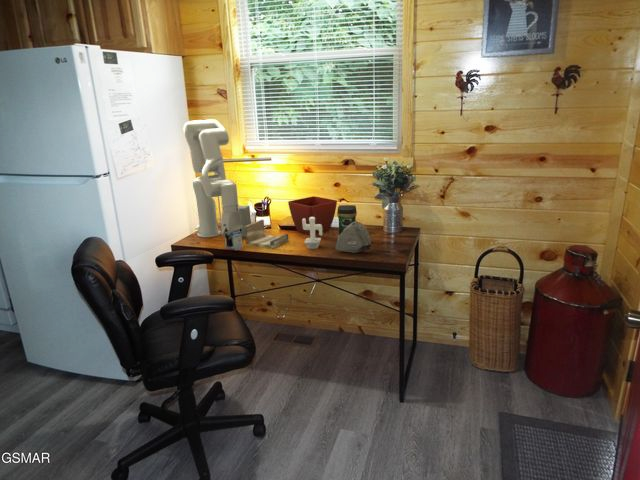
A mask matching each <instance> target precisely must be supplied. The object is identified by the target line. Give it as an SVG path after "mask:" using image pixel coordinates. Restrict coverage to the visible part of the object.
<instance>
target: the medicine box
mask: <svg viewBox="0 0 640 480" xmlns="http://www.w3.org/2000/svg"><path fill="white" fill-rule="evenodd" d="M228 236H229V234H228ZM242 238H243V237H241V232H239V231H235V232H232V233H231V239H232V245H233V246H232V247H229V246H227V243H226V238H225V237H224V239H225V242H224V243H225V248H226V249H229V250H233V251H238V250H242V249H243V240H242Z"/></svg>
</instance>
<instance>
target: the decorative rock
mask: <svg viewBox="0 0 640 480" xmlns="http://www.w3.org/2000/svg"><path fill="white" fill-rule="evenodd" d="M371 239H372V238H371V236H370V232H369V231H368V230H367V226H365V225H364V224H363V223H361V222H360V221H357V220H356V221H355V222H352V223H351V224H350V225H349V226H347V227H346V228H345V229H344V230H343V232H342V233H341V234H340V235H339V237H338V236H337V240H336V244H335V250H337V251H339V252H346V253H351V254H358V253H361V252H362V251H369V250H370V249H371V246H372V242H371Z"/></svg>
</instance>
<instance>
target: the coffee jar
mask: <svg viewBox="0 0 640 480" xmlns="http://www.w3.org/2000/svg"><path fill="white" fill-rule="evenodd" d="M357 214H358V211H357V206H356V205H355V204H344V205H343V204H339V205H338V206H337V210H336V215H337V218H338V232H337V238H338V237H339V235H340V234H341V233H342V232H343V230H344V229H345V228H346V227H347V226H349V225H350V224H351V223H352V222H355V221H357V220H356V217H357Z"/></svg>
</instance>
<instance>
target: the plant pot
mask: <svg viewBox="0 0 640 480" xmlns="http://www.w3.org/2000/svg"><path fill="white" fill-rule="evenodd" d="M287 203H288V209H289V212H290V215H291V219H292V221H293V224H294V226H295V228H296V231H297V232H298V233H302V234H306V235H309V236H310V230H304V229H303V224H302V219H303V218H305V219H306V224H310V221H309V218H310V217H315V224H321V225H322V232H323V233H327V232H330V230H331V227H332V224H333V221H334V217H335V215H336V211H337V205H338V204H337V203H338V200H336V199H331V198H327V197H320V196H315V195H313V196H308V197H307V196H306V197H304V198H299V199H294V200H289V201H287ZM316 235H319V230H315V236H316Z"/></svg>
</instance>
